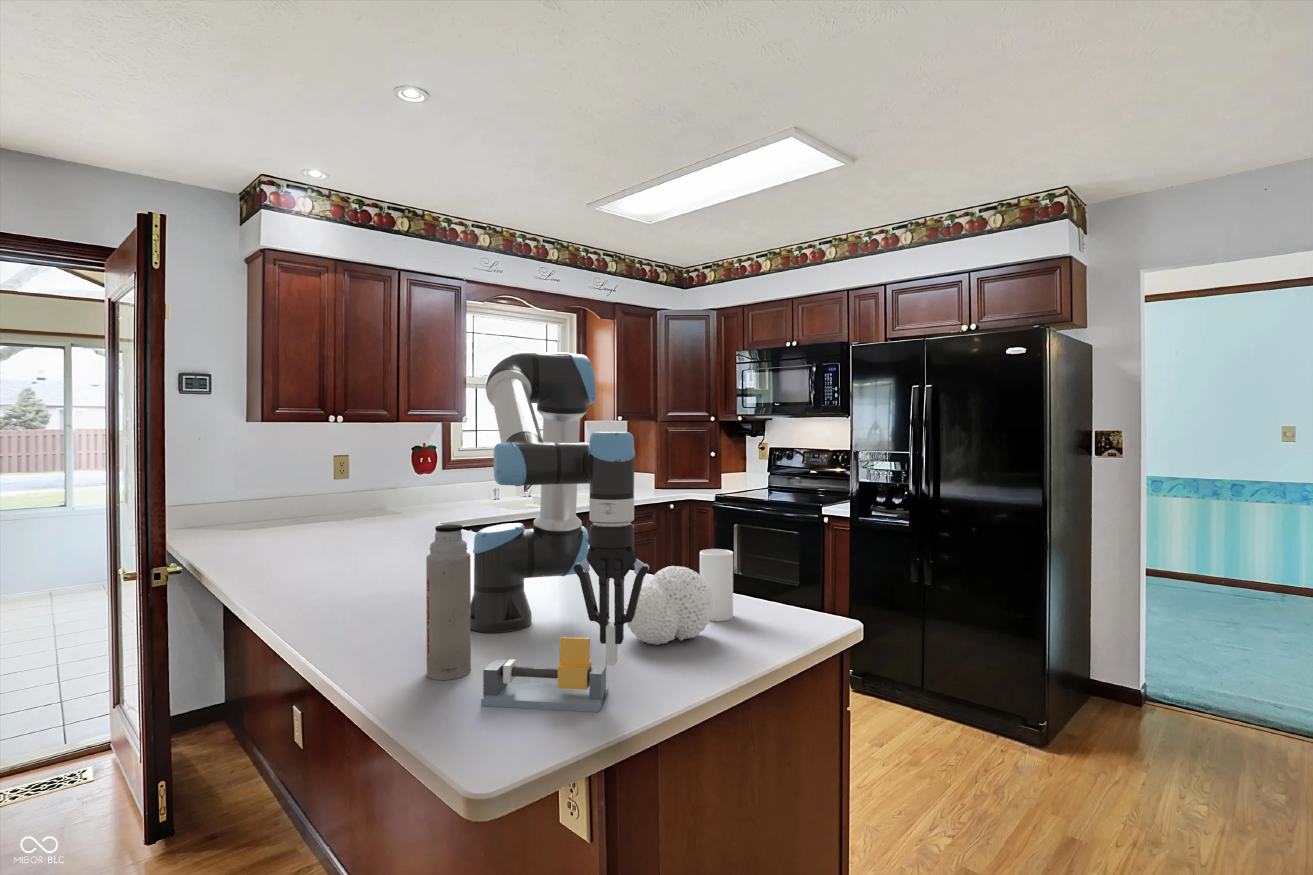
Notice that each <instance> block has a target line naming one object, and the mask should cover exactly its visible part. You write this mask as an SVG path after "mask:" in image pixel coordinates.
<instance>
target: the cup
mask: <svg viewBox="0 0 1313 875" xmlns="http://www.w3.org/2000/svg"><path fill="white" fill-rule="evenodd" d="M699 575H700V576H701V577H702V578H703V579H704V580H705V581H706V583H707V585H708V586H709V589H710V590H711V594H712V597H713V611H712V617H711V619H710V621H711V622H712V621H713V622H723V621H724V622H725V621H729V620H732V619H733V618H734V552H733V551H732V550H729V549H721V548H710V549H702V550H700V551H699ZM710 621H709V622H710Z"/></svg>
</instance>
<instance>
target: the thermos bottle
mask: <svg viewBox="0 0 1313 875" xmlns="http://www.w3.org/2000/svg"><path fill="white" fill-rule="evenodd" d="M462 530H463V525H461V524H441V525H437V526H435V534H434V541H432V542H431V543H430V547H429V551H430V554H428V555H426V556H425V557H426V558H425V560H426V563H425V564H426V567H425V568H426V569H425V570H426V573H425V574H426V677H427V678H429V679H432V680H436V681H447V680H455V679H456V680H457V679H460V678H463V677H465V676H467V675H468V674H470V673H471V669H472V668H471V666H472V663H471V661H472V659H471V658H472V657H471V655H472V653H471V652H472V650H471V649H472V647H471V645H472V644H471V643H472V642H471V641H472V639H471V630H470V617H471V600H472V598H471V597H472V596H471V595H472V594H471V593H472V592H471V586H472V584H471V577H472V576H471V553H469V552H467V551H468V547H467V546H468V543H467V542H466V541H465V540H463V533H462Z"/></svg>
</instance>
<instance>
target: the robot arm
mask: <svg viewBox="0 0 1313 875" xmlns="http://www.w3.org/2000/svg"><path fill="white" fill-rule="evenodd" d="M590 360H591V359H590V358H589V357H587V356H586V355H584V354H579V353H571V352H540V351H539V352H535V351H534V352H533V351H519V352H515V353H512V354H510V355H507V356H505V357H504V358H502V359H500V360H499V361H498V362H496V364H495V365H494V366H493V367H492V368H491V369H490V370H489V373H488V375H487V377H486V381H485V394H486V398H487V400H488V402H489V403H490V405H492V406H493V407H494V413H495V418H496V423H497V429H498V435H499V439H500V442H499V443H497V444H496V445H495V446H494V449H493V458H492V459H493V462H492V463H493V466H492V467H493V477H494V481H495V482H496V483H497V484H498V485H499V486H515V487H522V486H539V485H540V512H539V515H538V516H536V518H535V519H533V528H525V525H524V524H523V523H521V522H514V523H501V524H496V525H491V526H487V527H484V528H482V529H479V531H477V532H476V533H475V534H474V538H473V549H472V553H473V594H472V596H471V597H472V598H471V617H470V631H474V632H478V633H490V634H492V633H494V634H495V633H496V634H497V633H506V632H507V633H508V632H513V631H518V630H521V629H524V628H526V627H528V626H530V625H531V624H532V621H533V620H532V617H533V616H532V609H531V606H530V605H529V602H528V601H529V600H528V598H527V595H526V592H525V579H533V578H545V577H546V578H547V577H566V576H569V575H570V576H571V575H577V577H578V578H579V583H580V586H581V592H582V596H583V600H584V603H585V607H586V611H587V612H586V613H587V617H588V619H589V621H590V622H595V623H597V624H598V625H599V642H600V644H605V666H615V665H616V664H617V661H618V660H619V658H618V645H622V643H623V642H624V638H625V637H624V636H625V635H624V628H625V627H624V624H627V622H631V621H632V620H633V618H634V616H635V611H636V607H637V603H638V599H639V595H640V591H641V587H642V586H643V582H644V579H645V576H646V575H647V573H648V572H649V570H650V567H651V566H650V564H649V563H644V562H642V561H641V560H640V559H638V554H637V553H636V550H635V525H634V524H633V523H631V522H633V521H634V520H635V456H636V451H635V450H636V449H635V441H634V435H633V434H632V433H631V432H628V431H594V432H592V433H591V434H590V435H589V441H587V442H585V441H584V442H583V441H580V432H581V431H580V428H581V419H582V418H583V417H584V416H585V415H586V414H587V412H588V405H589V406H591V405H592V404H594V402H595V401H596V396H597V390H596V389H597V388H596V385H597V383H596V377H595V371H594V368H593V365H592V362H591V361H590ZM533 404H536V412H538V413H539V415H541V417H542V419H543V420H542V434H541V431H540V427H539V423H538V420H537V417H536V414H535V410H534V406H533ZM585 484H587V485H588V484H589V512H588V514H589V516H588V518H589V521H590V522H592V523H590V526H589V528H588V529H589V533H588V529H587V528H586V527H585V526H583V522H582V520H581V519H580V518H579V516H577V499H578V498H577V497H578V485H585ZM633 566H634V574H635V575H636V576H635V577H634V581H633V585H632V590H631V593H630V597H629V601H628V604H629V605H628V609H627V613H626V612H625V610H624V608H625V577H626V576H627V574H628V573H629V571H630V570H631V569H632V568H633ZM590 567H591V568H590ZM591 569H592V570H593V571H594V573H595V574H596V575H597V576H598V586H599V591H598V592H599V594H598V596H599V600H598V601H599V604H598V605H599V606H598V605H597V600H596V597H595V596H596V595H595V591H594V587H593V584H592V579H591V576H590V570H591ZM610 579H612V580H613V585H614V586H613V587H614V621H609V620H610V618H611V617H610ZM598 607H599V608H598Z"/></svg>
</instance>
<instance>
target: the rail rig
mask: <svg viewBox="0 0 1313 875" xmlns="http://www.w3.org/2000/svg"><path fill="white" fill-rule="evenodd" d="M482 673H483V675H482V676H483V678H482V679H483V685H482V686H483V688H482V690H483V691H482V692H483V696H482V697H481V698H480V706H481V707H495V708H496V707H498V708H499V707H500V708H514V709H532V710H533V709H534V710H549V711H550V710H551V711H553V710H554V711H555V710H556V711H569V712H570V711H572V712H588V713H589V712H590V713H591V712H592V713H599V712H601V708H602V706H603V704H604V703H605V700H606V698H607V697H608V695H609V685H607V665H599V664H598V665H597V664H596V665H594V666H593V667H592V670H588V680H589V687H588V689H587V690H582V689H561V688H558V683H551V682H550V683H547V682H529V681H528V682H525V681H514V680H515V678H516V677H517V678H519V677H520V678H534V679H535V678H536V679H537V678H538V679H557V680H558V668H555V667H554V668H551V667H550V668H549V667H534V666H533V667H531V666H530V667H529V666H527V667H526V666H517V660H516V659H508V660H507V659H493V660H492V661H491V662H490V663H489V664H488V665H487V666H486V667H484V668H483V671H482Z"/></svg>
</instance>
